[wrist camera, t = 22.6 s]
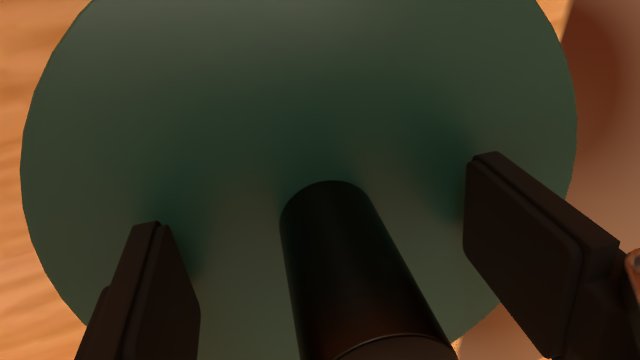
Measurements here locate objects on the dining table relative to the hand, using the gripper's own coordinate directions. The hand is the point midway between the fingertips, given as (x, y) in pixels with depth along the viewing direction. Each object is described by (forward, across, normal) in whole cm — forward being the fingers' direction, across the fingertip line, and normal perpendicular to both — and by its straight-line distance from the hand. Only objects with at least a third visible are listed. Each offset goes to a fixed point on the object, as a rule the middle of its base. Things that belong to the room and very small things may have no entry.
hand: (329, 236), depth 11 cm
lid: (+1, 0, 0) cm, 1 cm away
